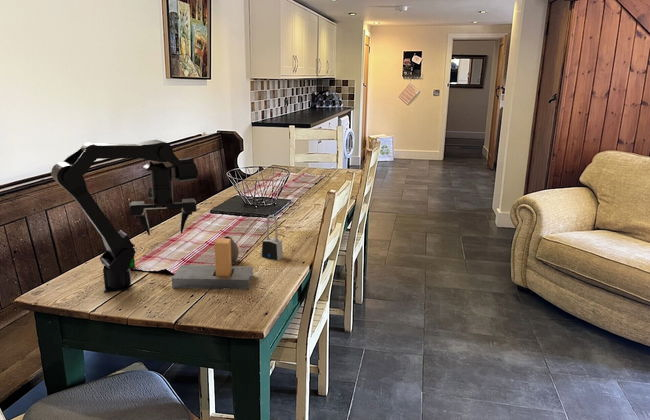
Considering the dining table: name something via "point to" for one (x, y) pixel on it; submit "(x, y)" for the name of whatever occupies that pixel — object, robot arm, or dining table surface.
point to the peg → (223, 257)
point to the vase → (233, 250)
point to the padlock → (272, 244)
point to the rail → (211, 277)
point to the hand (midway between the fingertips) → (165, 234)
